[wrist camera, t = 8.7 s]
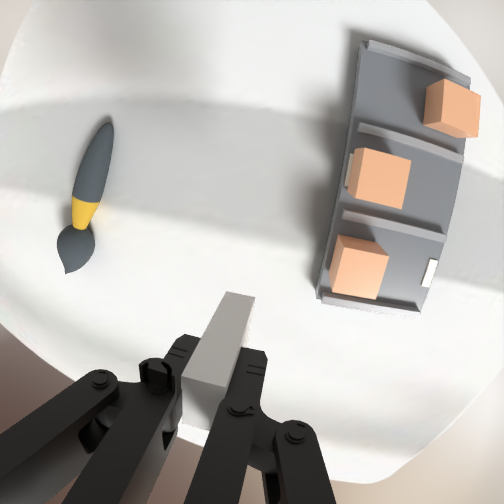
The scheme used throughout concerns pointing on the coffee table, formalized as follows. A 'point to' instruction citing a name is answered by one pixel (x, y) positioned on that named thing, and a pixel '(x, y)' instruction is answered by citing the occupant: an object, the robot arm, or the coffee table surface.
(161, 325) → the coffee table surface
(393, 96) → the switch bank
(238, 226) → the coffee table surface
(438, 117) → the tab
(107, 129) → the paintbrush
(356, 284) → the tan cube
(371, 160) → the peach cube
